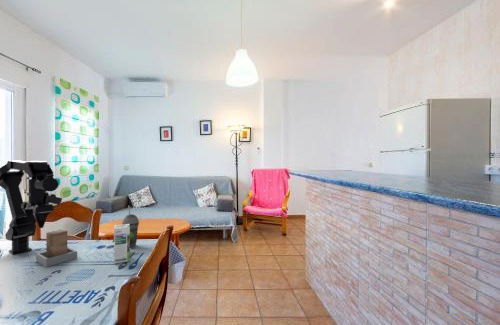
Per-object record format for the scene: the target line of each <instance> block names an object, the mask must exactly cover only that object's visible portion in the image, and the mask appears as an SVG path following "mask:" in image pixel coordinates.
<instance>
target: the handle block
mask: <svg viewBox="0 0 500 325" xmlns="http://www.w3.org/2000/svg"><path fill="white" fill-rule="evenodd" d="M45 244H46V258H51V257H55V256H59V255H62V254H66V253H67V247H68V230H64V229H56V230H51V231H48V232H46V243H45Z"/></svg>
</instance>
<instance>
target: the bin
mask: <svg viewBox="0 0 500 325" xmlns="http://www.w3.org/2000/svg"><path fill="white" fill-rule="evenodd" d="M75 259H78V251H77V250H76V249H73V248H72V247H69V246H67V253H66V254H62V255H59V256H55V257H51V258H46V251H40V252H37V253H36V254H35V261H36V262H37V263H38V264H40V265H42V266H43V267H44V268H47V267H52V266H54V265H59V264H62V263H66V262H69V261H72V260H75Z"/></svg>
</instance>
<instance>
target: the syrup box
mask: <svg viewBox="0 0 500 325" xmlns="http://www.w3.org/2000/svg"><path fill="white" fill-rule="evenodd" d="M113 236H114V237H113V239H114V242H113V243H114V244H113V245H114V249H113V250H114V253H113V256H114V257H113V258H114V259H113V264H114V265H115V264H120V263H126V262H130V258H131V257H130V256H131V253H130V252H131V251H130V250H131V248H130V226H129V224H125V225H123V224H118V225H117V224H115V225H114V228H113Z"/></svg>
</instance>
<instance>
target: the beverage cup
mask: <svg viewBox="0 0 500 325" xmlns="http://www.w3.org/2000/svg"><path fill="white" fill-rule="evenodd" d="M127 209H128V214H127V215H126V216H125V217H124V218H123V220H122V224H121V225H125V224H129V226H130V232H131V233H132V234H133V235H134V236H132V237H130V249H134V248H136V247H137V240H138V228H139V226H140V225H139V224H140V220H139V218H138V216H137V215H135V214H131V211H130V210H131V208H130V205H127Z"/></svg>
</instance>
